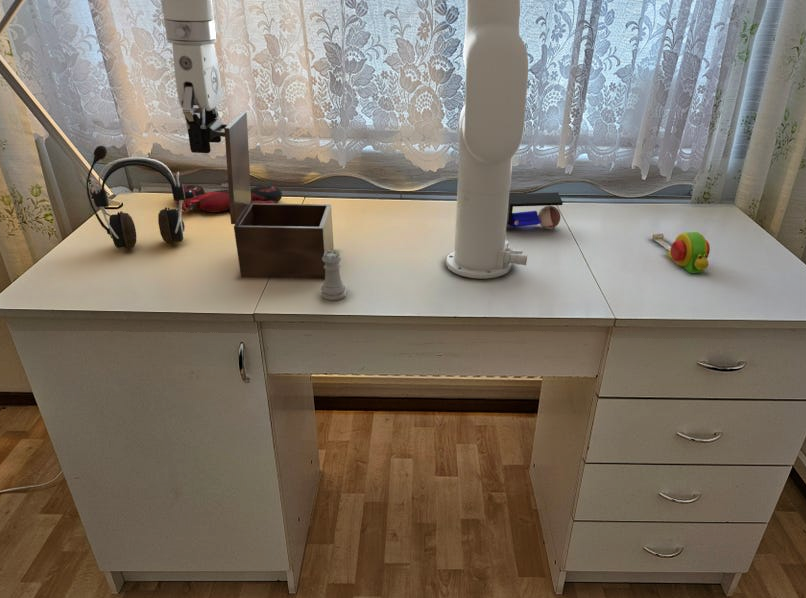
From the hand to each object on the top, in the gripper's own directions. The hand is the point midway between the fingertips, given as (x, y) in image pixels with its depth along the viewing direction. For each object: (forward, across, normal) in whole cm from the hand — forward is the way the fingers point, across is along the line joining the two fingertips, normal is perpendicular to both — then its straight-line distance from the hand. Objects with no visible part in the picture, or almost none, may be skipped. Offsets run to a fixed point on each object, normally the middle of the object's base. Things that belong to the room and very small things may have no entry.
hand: (206, 146), depth 114 cm
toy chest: (+22, 0, -13) cm, 25 cm away
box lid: (+3, 0, -6) cm, 7 cm away
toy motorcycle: (+22, +30, +7) cm, 38 cm away
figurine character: (+21, +21, -61) cm, 68 cm away
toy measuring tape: (+20, +6, -90) cm, 92 cm away
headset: (+23, +8, +16) cm, 29 cm away
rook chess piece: (+22, -13, -23) cm, 34 cm away
